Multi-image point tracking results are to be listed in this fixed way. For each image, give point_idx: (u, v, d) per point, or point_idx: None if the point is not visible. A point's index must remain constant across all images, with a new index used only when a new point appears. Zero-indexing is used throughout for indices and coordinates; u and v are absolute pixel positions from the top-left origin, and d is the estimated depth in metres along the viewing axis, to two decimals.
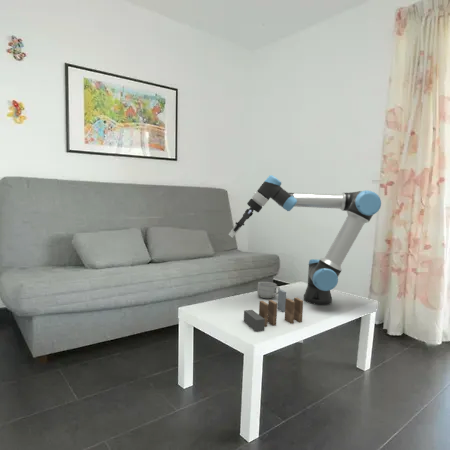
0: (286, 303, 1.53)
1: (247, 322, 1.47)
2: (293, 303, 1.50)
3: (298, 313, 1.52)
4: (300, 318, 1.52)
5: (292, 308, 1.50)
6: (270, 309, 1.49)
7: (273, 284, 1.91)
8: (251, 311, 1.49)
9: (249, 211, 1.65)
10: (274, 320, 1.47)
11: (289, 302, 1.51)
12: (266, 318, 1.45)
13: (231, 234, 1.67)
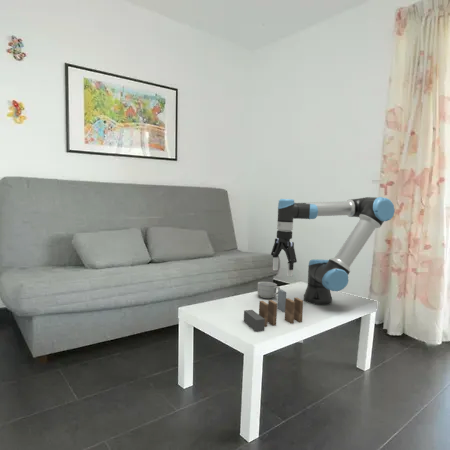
0: (286, 303, 1.53)
1: (247, 322, 1.47)
2: (293, 303, 1.50)
3: (298, 313, 1.52)
4: (300, 318, 1.52)
5: (292, 308, 1.50)
6: (270, 309, 1.49)
7: (273, 284, 1.91)
8: (251, 311, 1.49)
9: (291, 244, 1.58)
10: (274, 320, 1.47)
11: (289, 302, 1.51)
12: (266, 318, 1.45)
13: (290, 274, 1.59)
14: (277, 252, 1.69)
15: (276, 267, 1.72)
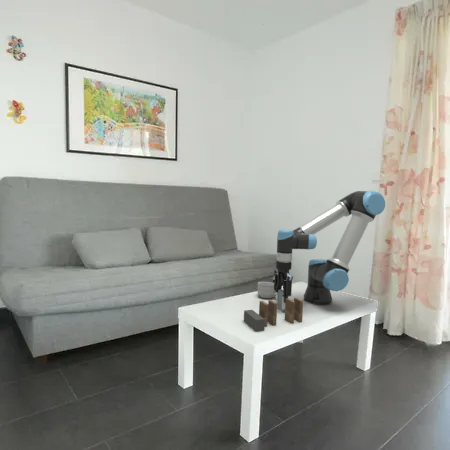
0: (286, 303, 1.53)
1: (247, 322, 1.47)
2: (293, 303, 1.50)
3: (298, 313, 1.52)
4: (300, 318, 1.52)
5: (292, 308, 1.50)
6: (270, 309, 1.49)
7: (273, 284, 1.91)
8: (251, 311, 1.49)
9: (290, 278, 1.60)
10: (274, 320, 1.47)
11: (289, 302, 1.51)
12: (266, 318, 1.45)
13: None
14: (279, 285, 1.68)
15: None
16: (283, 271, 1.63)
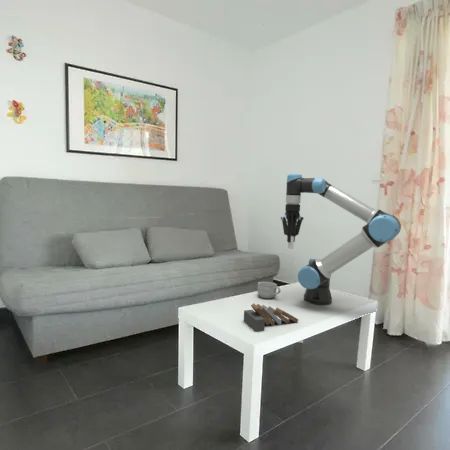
0: None
1: (247, 322, 1.47)
2: (275, 311, 1.46)
3: (289, 318, 1.51)
4: (294, 319, 1.51)
5: (278, 315, 1.47)
6: None
7: (273, 284, 1.91)
8: (251, 311, 1.49)
9: (282, 219, 1.74)
10: (270, 321, 1.46)
11: None
12: (265, 318, 1.45)
13: (289, 246, 1.77)
14: (292, 228, 1.77)
15: None
16: None
